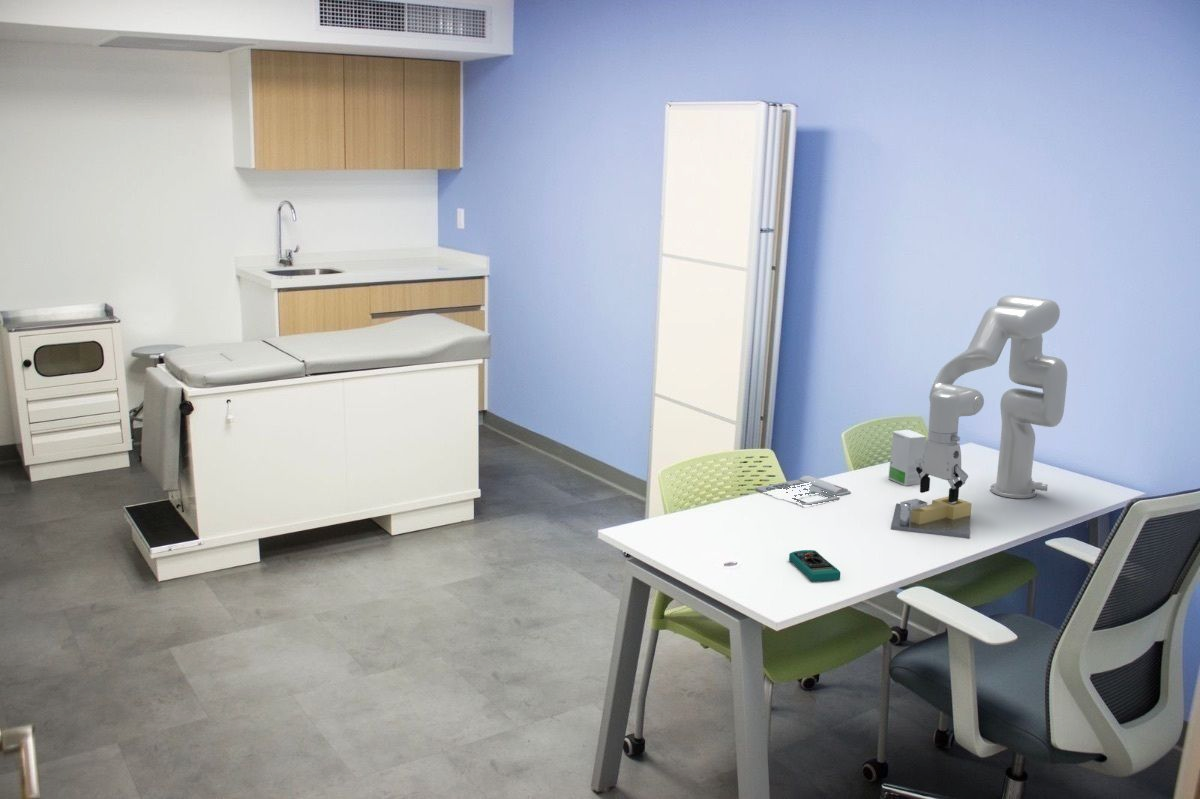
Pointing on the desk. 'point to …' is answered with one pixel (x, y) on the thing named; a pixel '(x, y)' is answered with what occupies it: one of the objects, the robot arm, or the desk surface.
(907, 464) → the skincare box
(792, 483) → the office telephone
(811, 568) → the digital multimeter
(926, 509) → the link
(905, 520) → the pintle plate
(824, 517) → the desk surface
